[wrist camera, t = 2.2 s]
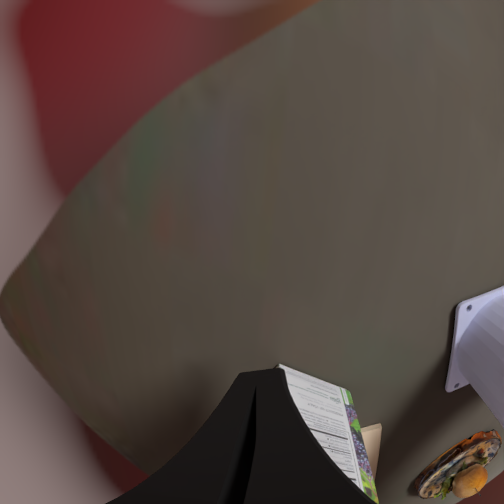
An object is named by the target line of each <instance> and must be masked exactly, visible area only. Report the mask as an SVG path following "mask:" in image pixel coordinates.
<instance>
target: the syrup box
mask: <svg viewBox="0 0 504 504" xmlns="http://www.w3.org/2000/svg"><path fill="white" fill-rule="evenodd" d="M279 367H281V368H282V369H284V370H285V374H286V379H287V384H288V388H289V391H290V394H291V396H292V398H293V400H294V402H295V404H296V406H297V408H298V410H299V412H300V414H301V416H302V418H303V419H304V421H305V423H306V424H307V426H308V427H309V429H310V430H311V432H312V434H313V435H314V437H315V438H316V439H317V441H318V442H319V444H320V445H321V446H322V448H323V449H324V450H325V451H326V453H327V454H328V455H329V456H330V458H331V459H332V460H333V461H334V462H335V463H336V465H337V466H338V467H339V468H340V469H341V470H342V471H343V472H344V474H345V475H346V476H347V477H349V478H350V479H351V480H352V481H353V482H354V483H355V484H356V485H357V486H358V487H359V488H360V489H361V490H362V491H363V492H364V493H365V494H366V495H367V496H369V497H370V498H371V499H372V500H373V501H375V502H376V503H377V504H379V501H378V497H377V492H376V488H375V484H374V480H373V476H372V472H371V468H370V464H369V460H368V456H367V452H366V449H365V445H364V441H363V437H362V434H361V429H360V426H359V423H358V419H357V415H356V412H355V408H354V405H353V401H352V398H351V394H350V392H349V391H348V390H346V389H344V388H341V387H338V386H336V385H333V384H330V383H328V382H325V381H322V380H320V379H317V378H314V377H312V376H309V375H307V374H304V373H301V372H299V371H296V370H294V369H291V368H289V367H286V366H284V365H281V364H278V365H277V366H276V368H279Z"/></svg>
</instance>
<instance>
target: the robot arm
mask: <svg viewBox="0 0 504 504" xmlns="http://www.w3.org/2000/svg"><path fill="white" fill-rule="evenodd" d="M468 306H469V307H468ZM467 307H468V309H467ZM468 384H471V386H472V387H473V388H474V390H475V391H476V392H477V393H478V395H479V396H480V397H481V398H482V400H483V401H484V402H485V404H486V405H487V406H488V408H489V409H490V410H491V412H492V413H493V414H494V416H495V417H496V418H497V420H498V421H499V422H500V424H501V425H502V427H503V428H504V286H502V287H500V288H497V289H495V290H492V291H489V292H487V293H484V294H482V295H479V296H476V297H474V298H471V299H468V300H465V301H462V302H461V303H459V304H458V306H457V307H456V314H455V325H454V335H453V343H452V350H451V357H450V363H449V369H448V375H447V380H446V385H445V390H446V391H447V392H452V391H454V390H456V389H459V388H461V387H463V386H465V385H468ZM106 504H377V503H376V502H375V501H373V500H372V499H371V498H370V497H369V496H367V495H366V494H365V493H364V492H363V491H362V490H361V489H360V488H359V487H358V486H357V485H356V484H355V483H354V482H353V481H352V480H351V479H350V478H349V477H347V476H346V475H345V474H344V472H343V471H342V470H341V469H340V468H339V467H338V466H337V465H336V463H335V462H334V461H333V460H332V459H331V458H330V456H329V455H328V454H327V453H326V451H325V450H324V449H323V448H322V446H321V445H320V444H319V442H318V441H317V439H316V438H315V437H314V435H313V434H312V432H311V430H310V429H309V427H308V426H307V424H306V423H305V421H304V419H303V418H302V416H301V414H300V412H299V410H298V408H297V406H296V404H295V402H294V400H293V398H292V396H291V394H290V391H289V388H288V384H287V379H286V374H285V370H284V369H282V368H281V367H279V368H273V369H266V370H258V371H251V372H243V373H240V374H239V375H238V376H237V378H236V379H235V381H234V382H233V384H232V385H231V387H230V389H229V390H228V392H227V393H226V395H225V396H224V398H223V399H222V401H221V402H220V403H219V405H218V406H217V408H216V409H215V410H214V412H213V413H212V414H211V416H210V417H209V418H208V420H207V421H206V422H205V424H204V425H203V426H202V427H201V428H200V429H199V431H198V432H197V433H196V434H195V435H194V436H193V438H192V439H191V440H190V441H189V442H188V443H187V444H186V445H185V446H184V447H183V448H182V449H181V450H180V451H179V452H178V453H177V454H176V455H175V456H174V457H173V458H172V459H171V460H170V461H169V462H168V463H166V464H165V465H164V466H163V467H162V468H160V469H159V470H158V471H157V472H155V473H154V474H153V475H151V476H150V477H149V478H147V479H146V480H145V481H143V482H142V483H140V484H139V485H138V486H136V487H134V488H133V489H131V490H130V491H128V492H126V493H125V494H123V495H121V496H119V497H118V498H116V499H114V500H112V501H110V502H108V503H106Z"/></svg>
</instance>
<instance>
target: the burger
mask: <svg viewBox="0 0 504 504" xmlns="http://www.w3.org/2000/svg"><path fill="white" fill-rule="evenodd" d="M501 444H502V441H501V438H500V436H499V434H498V433H497V431H495V430H494V429H493V431H490V433H485V432H483V431H481V432H480V433H476V434H475V435H474V436H473V437H472V439H471V440H469V439H468V440H467V439H465V440H463V441H461V442H459V443H458V444H456V445H455V446H453V447H452V448H450V449H449V450H448V451H446V452H445V453H444V454H442V455H441V456H440V457H438V458H437V459H436V460H435V461H433V462H432V463H431V464H430V465H429V466H428V467H427V468H425V470H424V471H423V472H422V473H421V474H420V475H419V476H418V478H417V479H416V481H415V483H414V485H415V487H414V488H415V489H416V490H417V491H418V496H419V497H420V498H423V499H424V498H425V499H427V498H432V497H434V498H435V497H438V496H440V495H442V500H443V499H444V497H446V493H449V492H450V491H452V492H453V494H454V495H455V496H457V497H459V498H466V497H469V496H472V495H474V494H475V493H477V492H478V491H480V490H481V488H482V487H483V486H484V485H485V483H486V481H487V477H488V474H487V470H486V469H485V468H484V467H485V466H486V465H487V464H488V463H489V462H490V461H491V460H492V459H493V458H494V457H495V456H496V455H497V452H498V449H499V448H500V447H501V446H500V445H501ZM478 494H479V493H478ZM480 496H481V495H480Z"/></svg>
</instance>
